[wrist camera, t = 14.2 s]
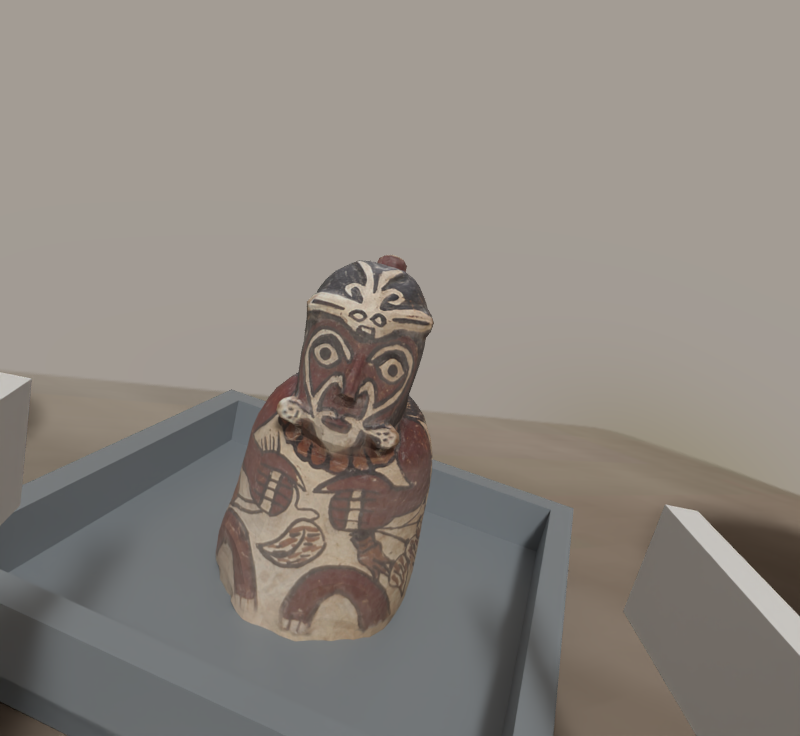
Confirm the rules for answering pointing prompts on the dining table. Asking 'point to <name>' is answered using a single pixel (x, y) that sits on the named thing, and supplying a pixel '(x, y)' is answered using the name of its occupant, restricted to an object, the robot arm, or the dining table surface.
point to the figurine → (336, 467)
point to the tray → (254, 645)
